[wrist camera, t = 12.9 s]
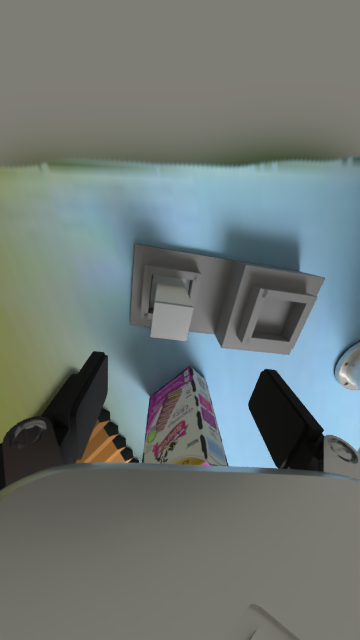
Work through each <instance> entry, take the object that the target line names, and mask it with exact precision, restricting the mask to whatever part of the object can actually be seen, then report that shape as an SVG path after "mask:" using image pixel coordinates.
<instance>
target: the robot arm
mask: <svg viewBox="0 0 360 640" xmlns="http://www.w3.org/2000/svg"><path fill="white" fill-rule="evenodd" d="M335 377H336V380H337V381H338V383H339V384H341V385H342V386H343V387H345V388H346V389H350V390H360V342H358V343H357V344H355V345H354V346H352V347H351V348H350V349H348V350H347V351H346V352H345V353H344V354H343V356H342V357H341V358H340V360H339V361H338V363H337V365H336V369H335ZM107 391H108V356H107V355H105V353H104V352H96V351H94V352H92V354H91V355H90V357H89V358H88V360H87V361H86V363H85V364H84V366H83V367H82V369H81V370H80V372H79V373H78V374H72V375H71V376H70V377H69V378H68V380H67V381H66V383H65V384H64V385H63V387H62V388H61V389H60V391H59V392H58V394H57V395H56V396H55V398H54V399H53V400H52V402H51V403H50V405H49V406H48V407H47V409H46V410H45V411H44V413H43V414H42V416H36V417H31V418H27V419H25V420H23V421H21V422H19V423H17V424H16V425H15V426H13V427H12V428H11V429H10V430H9V431H8V432H7V433H6V435H5V437H4V438H3V443H1V444H0V640H360V455H359V454H358V452H357V451H356V450H355V449H354V448H353V447H352V446H351V445H350V444H348V443H347V442H346V441H344V440H342V439H341V438H339V437H336V436H333V435H326V436H325V437H324V435H323V434H322V432H323V431H324V430H323V428H322V427H321V426H320V425H319V423H318V422H317V421H316V420H315V418H314V417H313V416H312V415H311V413H310V412H309V411H308V410H307V408H306V407H305V406H304V405H303V404H302V402H301V401H300V400H299V399H298V397H297V396H296V395H295V394H294V392H293V391H292V390H291V389H290V387H289V386H288V385H287V384H286V382H285V381H284V380H283V379H282V377H281V376H280V375H279V374H278V373H277V371H276V370H270V369H265V370H264V371H262V372H261V374H260V376H259V379H258V381H257V383H256V386H255V388H254V391H253V393H252V396H251V398H250V400H249V403H248V406H249V410H250V412H251V414H252V416H253V418H254V420H255V423H256V425H257V427H258V429H259V431H260V433H261V435H262V437H263V440H264V442H265V444H266V446H267V448H268V450H269V452H270V455H271V457H272V459H273V461H274V463H275V465H276V467H277V468H279V469H276V468H255V467H232V466H208V465H182V464H153V463H113V462H92V463H76V461H77V460H81V458H82V456H83V454H84V452H85V449H86V447H87V444H88V442H89V439H90V437H91V434H92V432H93V429H94V427H95V424H96V422H97V419H98V417H99V414H100V412H101V409H102V407H103V404H104V402H105V399H106V396H107Z"/></svg>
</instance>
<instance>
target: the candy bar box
mask: <svg viewBox="0 0 360 640" xmlns="http://www.w3.org/2000/svg"><path fill="white" fill-rule="evenodd" d="M142 463H153V464H182V465H208V466H228V463H227V459H226V455H225V451H224V447H223V444H222V439H221V436H220V432H219V428H218V424H217V421H216V418H215V413H214V409H213V406H212V401H211V398H210V394H209V390H208V386H207V383H206V379H205V378H204V377H202V376H201V375H200V374H199V373H198V372H197V371H196V370H195V369H194V368H192V367H191V366H190V367H188V368H187V369H186V370H184V371H183V372H182V373H181V374H179V375H178V376H177V377H175V378H174V379H173V380H172V381H170V382H169V383H168V384H166V385H165V386H164V387H162V388H161V389H160V390H159V391H157V392H156V393H155V394H153V395H152V396H151V397H150V399H149V408H148V416H147V426H146V434H145V443H144V451H143V459H142Z"/></svg>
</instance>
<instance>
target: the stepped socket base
mask: <svg viewBox="0 0 360 640" xmlns="http://www.w3.org/2000/svg"><path fill="white" fill-rule="evenodd" d="M324 280H325V278H323V277H319V276H315V275H311V274H308V273H304V272H300V271H294V270H288V269H282V268H276V267H270V266H264V265H258V264H252V263H246V262H240V261H234V260H228V259H222V258H216V257H210V256H204V255H198V254H192V253H186V252H180V251H174V250H168V249H162V248H156V247H150V246H144V245H138V244H135V249H134V266H133V283H132V300H131V317H130V325H135V326H144V327H152V320H153V312H154V304H155V297H156V291H157V285H158V282H159V283H165V284H172V285H178V286H185V288H186V290H187V293H188V295H189V298H190V300H191V303H192V305H193V313H192V317H191V322H190V327H189V332H198V333H207V334H215V336H216V338H217V340H218V342H219V344H220V346H221V348H228V349H238V350H247V351H257V352H267V353H277V354H287V355H289V354H290V352H291V350H292V349H293V348H294V346H295V343H296V341H297V339H298V337H299V335H300V333H301V331H302V329H303V327H304V324H305V322H306V320H307V318H308V316H309V314H310V312H311V310H312V308H313V305H314V303H315V301H316V299H317V294H318V292H319V290H320V288H321V286H322V284H323V282H324Z"/></svg>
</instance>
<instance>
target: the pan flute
mask: <svg viewBox="0 0 360 640" xmlns="http://www.w3.org/2000/svg"><path fill="white" fill-rule="evenodd" d="M109 421H110V412H108V411H106V410H104V409H101V412H100V414H99V417H98V419H97V422H96V424H95V427H94V429H93V432H92V434H91V437H90V439H89V442H88V444H87V447H86V449H85V452H84V454H83V456H82V458H81V460H77V461H76V463H92V462H113V463H139V460H136V459H134V458H133V451H132V450H131V449H129V448H127V447H126V438H123V437H121V436H119V435H118V426H117V425H115V424H112V423H110V422H109Z"/></svg>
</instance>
